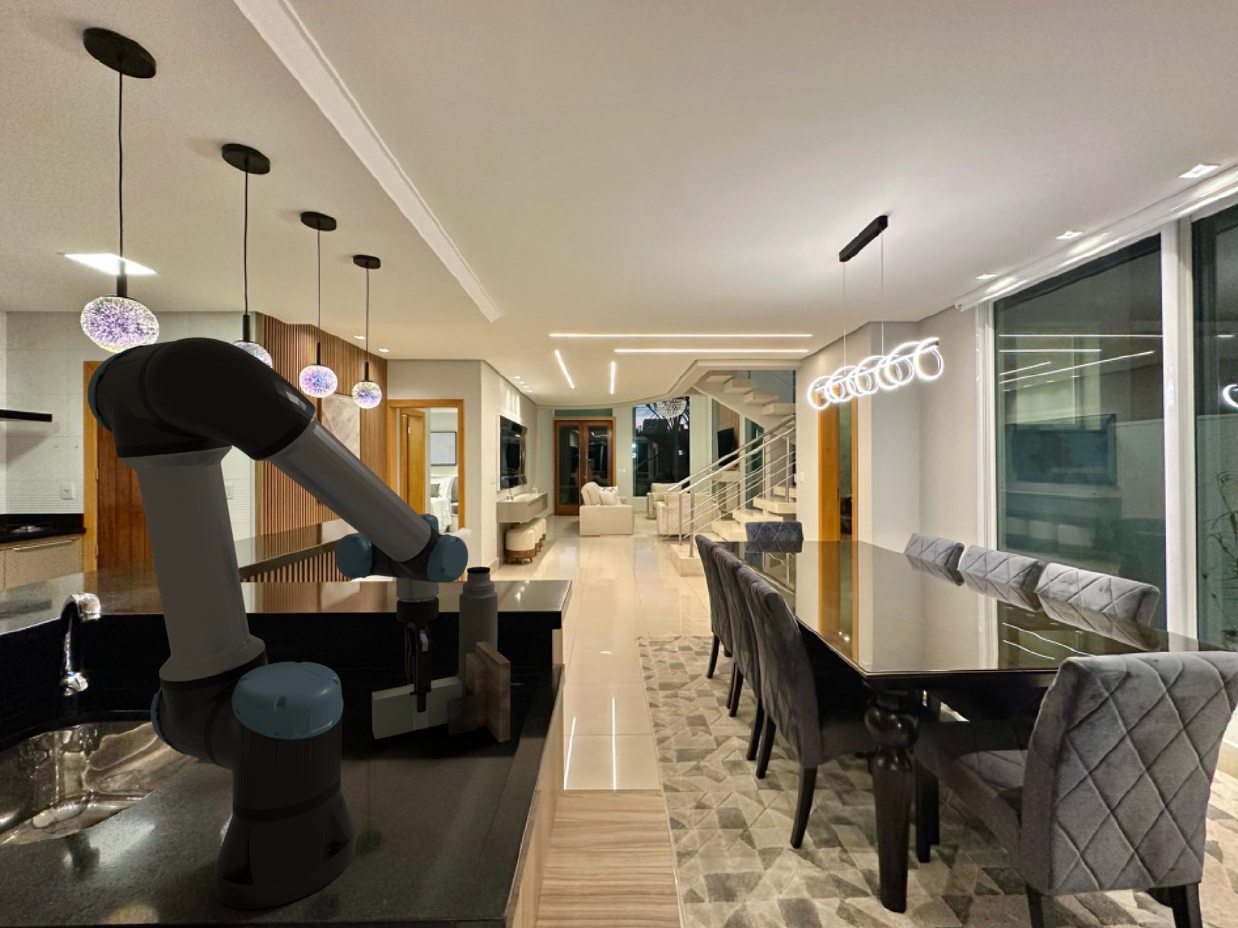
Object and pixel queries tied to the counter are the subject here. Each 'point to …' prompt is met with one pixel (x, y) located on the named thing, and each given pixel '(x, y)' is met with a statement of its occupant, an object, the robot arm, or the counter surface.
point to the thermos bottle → (477, 614)
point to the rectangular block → (397, 706)
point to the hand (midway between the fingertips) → (417, 722)
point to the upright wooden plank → (483, 695)
